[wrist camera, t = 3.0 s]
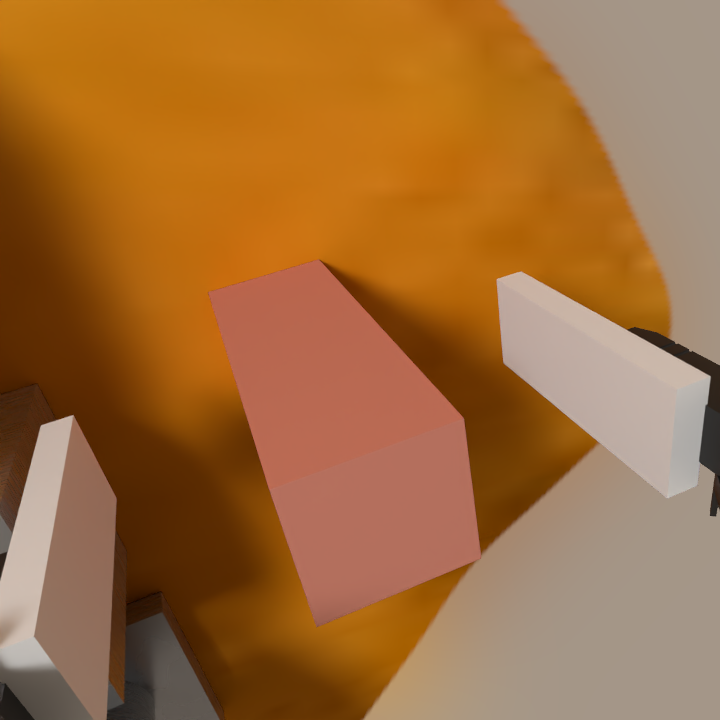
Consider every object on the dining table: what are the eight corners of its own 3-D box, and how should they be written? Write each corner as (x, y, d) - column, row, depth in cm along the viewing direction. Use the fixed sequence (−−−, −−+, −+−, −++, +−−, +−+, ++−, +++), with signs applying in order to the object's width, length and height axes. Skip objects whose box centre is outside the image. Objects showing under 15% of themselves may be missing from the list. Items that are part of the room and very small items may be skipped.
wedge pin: (241, 389, 20) (316, 627, 12) (208, 292, 19) (269, 489, 10) (341, 356, 21) (480, 558, 12) (319, 259, 19) (463, 418, 11)
